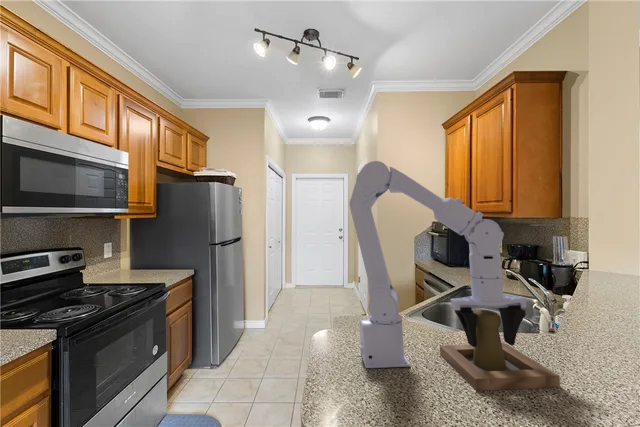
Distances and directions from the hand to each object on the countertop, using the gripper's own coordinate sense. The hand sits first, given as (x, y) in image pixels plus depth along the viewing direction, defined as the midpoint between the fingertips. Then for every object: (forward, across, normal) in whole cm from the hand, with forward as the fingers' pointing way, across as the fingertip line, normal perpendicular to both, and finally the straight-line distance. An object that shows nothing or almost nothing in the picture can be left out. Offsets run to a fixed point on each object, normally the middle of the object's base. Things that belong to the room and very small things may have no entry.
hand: (490, 344), depth 59 cm
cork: (+5, 0, -1) cm, 5 cm away
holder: (+5, 0, 0) cm, 5 cm away
